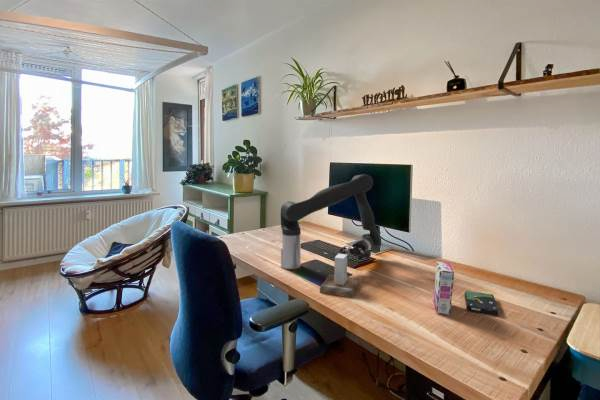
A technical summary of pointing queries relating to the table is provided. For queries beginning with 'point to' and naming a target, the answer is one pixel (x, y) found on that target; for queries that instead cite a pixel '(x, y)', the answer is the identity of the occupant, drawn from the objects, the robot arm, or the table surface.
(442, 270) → the candy bar box
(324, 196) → the robot arm
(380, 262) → the table surface
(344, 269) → the skincare box
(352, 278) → the walnut riser
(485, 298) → the disk drive
